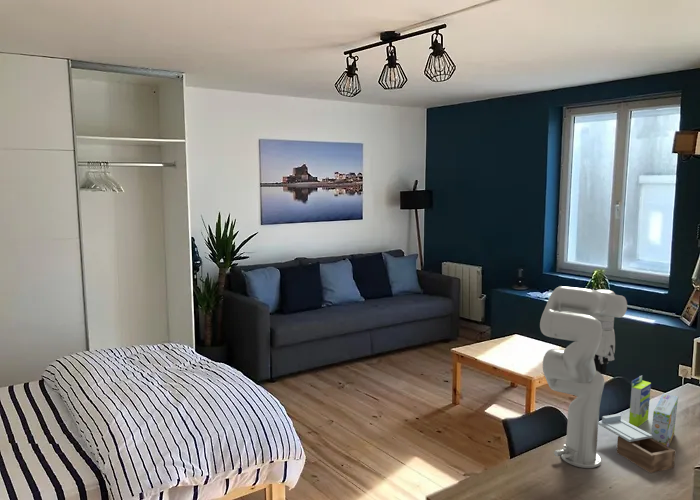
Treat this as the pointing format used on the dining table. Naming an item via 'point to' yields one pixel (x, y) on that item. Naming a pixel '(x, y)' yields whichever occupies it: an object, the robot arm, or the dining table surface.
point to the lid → (623, 428)
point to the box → (639, 401)
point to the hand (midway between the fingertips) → (599, 371)
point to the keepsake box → (647, 454)
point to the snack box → (664, 419)
